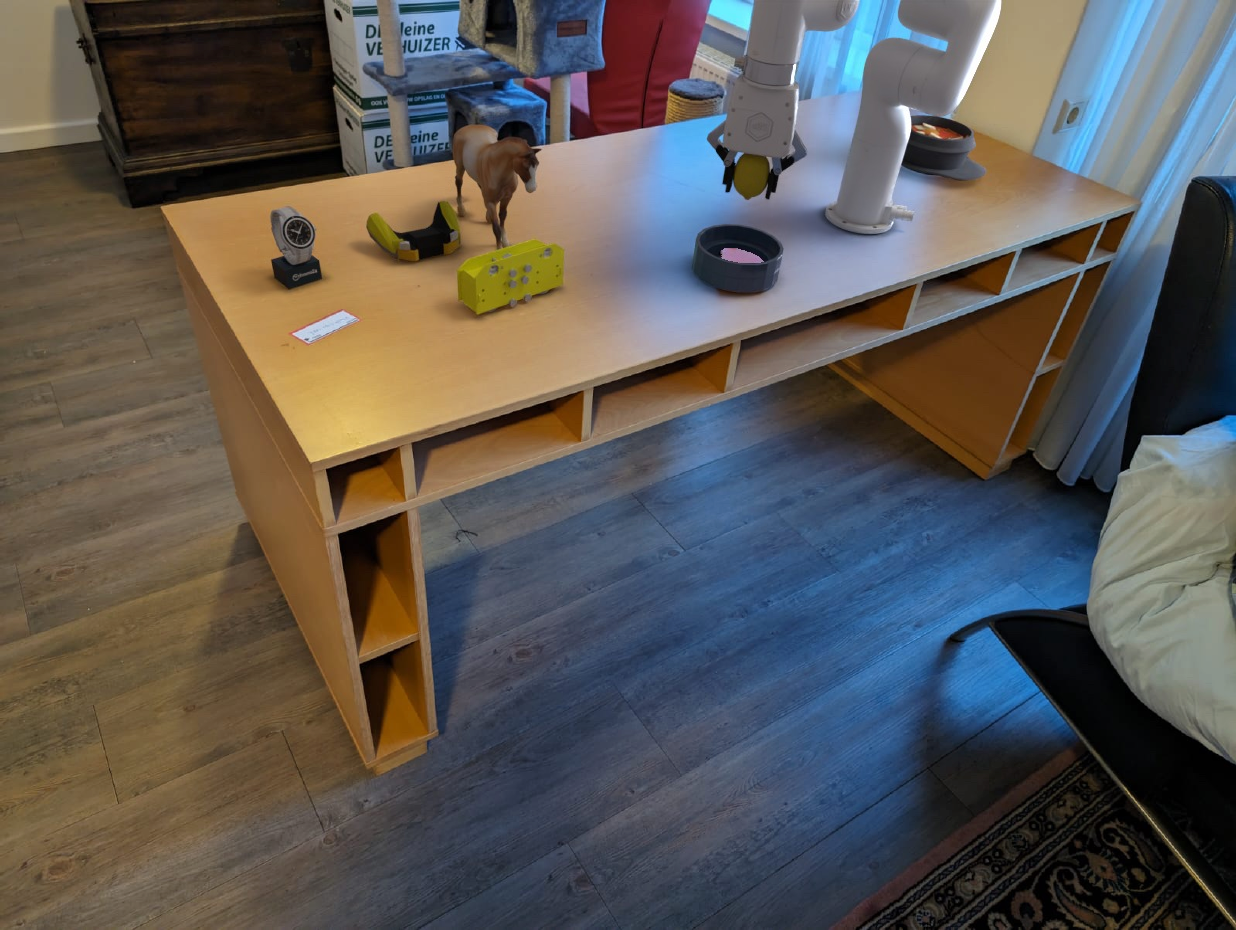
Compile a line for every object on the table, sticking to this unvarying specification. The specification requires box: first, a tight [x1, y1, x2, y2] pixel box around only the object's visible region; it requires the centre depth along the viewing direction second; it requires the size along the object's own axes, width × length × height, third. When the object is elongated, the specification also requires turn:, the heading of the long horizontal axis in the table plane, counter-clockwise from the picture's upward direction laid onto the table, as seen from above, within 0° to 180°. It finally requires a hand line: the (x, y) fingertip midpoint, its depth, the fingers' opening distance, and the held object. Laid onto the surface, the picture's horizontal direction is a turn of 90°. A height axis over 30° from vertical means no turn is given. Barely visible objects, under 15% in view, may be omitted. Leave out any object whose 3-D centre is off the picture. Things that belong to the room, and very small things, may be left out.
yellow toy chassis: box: [456, 238, 565, 315], centre depth 131 cm, size 16×6×8 cm, turn 131°
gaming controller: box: [365, 200, 462, 262], centre depth 142 cm, size 15×6×10 cm
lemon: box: [732, 153, 771, 201], centre depth 134 cm, size 6×6×8 cm
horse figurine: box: [452, 124, 543, 250], centre depth 142 cm, size 31×8×21 cm, turn 23°
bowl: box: [691, 223, 785, 294], centre depth 144 cm, size 14×14×6 cm
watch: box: [269, 205, 323, 290], centre depth 130 cm, size 6×8×11 cm
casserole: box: [901, 114, 987, 182], centre depth 187 cm, size 25×19×8 cm
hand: (748, 191), depth 136 cm, fingers closed on lemon, 5 cm apart
